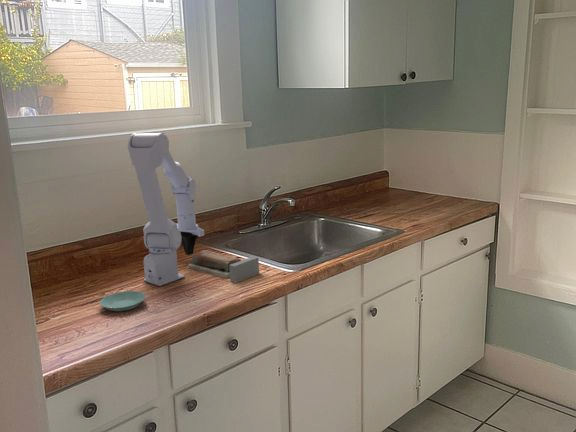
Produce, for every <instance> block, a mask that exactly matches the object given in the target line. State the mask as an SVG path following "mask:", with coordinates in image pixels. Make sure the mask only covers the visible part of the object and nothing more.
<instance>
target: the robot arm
mask: <svg viewBox="0 0 576 432" xmlns="http://www.w3.org/2000/svg"><path fill="white" fill-rule="evenodd" d="M127 150H128V153H129V157H130V160H131V161H130V162H131V165H132V166H133V167H134V168H135V174H136V176H137V180H138V185H139V188H140V192H141V196H142V200H143V202H144V207H145V210H146V214H147V217H148V222H147V223H146V224H145V225H144V227H143V229H142V231H143V244H144V245H145V248H146V249H148V252H149V253H148V254H146V255H145V256H144V258H143V270H144V279H143V281H144V282H148V283H150V284H153V285H156V286H158V287H160V286H164V285H166V284H169V283H172V282H175V281H178V280H180V279H181V280H182V279H184V278H185V277H186V276H185V275H184V274H182V273H179V267H178V256H177V250H178V249H179V248H180V247H181V245H182V247H183V250H184V253H185V255H187V256H191V255H192V254H194V250H195V245H196V242H197V239H198V237H199V238H200V237H203V236H205V229H203V228H201V227H199V224H197V222H196V209H195V208H196V207H195V200H196V191H197V183H196V180H195V179H194V178H193V177H192V176H189V175H188V173H187V172H186V171H185V169H184V167H183V166H182V165H181V164H180V162H178V161H175V160H174V158H173V155H172V154H171V152H170V141H169V139H168V137H167V134H165V132H158V133H157V132H155V133H153V132H152V133H150V132H149V133H137V132H134V133H132V134H130V136H129V139H128V144H127ZM160 166H162V167H163V174H164V176H165V177H166V179H167V180H168V181H169V186H170V191H171V193H172V194H173V195H175V206H176V218H177V223H176V222H175V221H173V220H171V219H170V218H169V217H168V215H167V210H166V208H165V202H164V199H163V194H162V191H161V187H160V183H159V179H158V175H157V174H158V173H157V171H156V169H157V168H158V167H160Z"/></svg>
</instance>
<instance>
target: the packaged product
mask: <svg viewBox="0 0 576 432" xmlns="http://www.w3.org/2000/svg"><path fill="white" fill-rule="evenodd" d="M190 256H191V257H190V258H191V260H190V261H191V263H187V268H188V269H191V270H195V271H198V272H201V273H205V274H208V275H212V276H215V277H220V278H224V279H229V278H230V267H229V265H231V264H234V263H236V262H239V261H242V260H241V258H237V257H234V256H229V255H225V254H222V253H218V252H214V251H211V250H207V249H203V250H200V251H197V252H193V254H191V255H190Z"/></svg>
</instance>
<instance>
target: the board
mask: <svg viewBox="0 0 576 432" xmlns="http://www.w3.org/2000/svg"><path fill="white" fill-rule="evenodd" d="M229 267H230V277H229V278H230V279H229V280H230V282H232V283H238V282H240V281H243V280H245V279H248V278H250V277H253V276H255V275H258V274H260V263H259V256H251V257H247V258H245V259H242V260H241V261H239V262H236V263H234V264H231V265H229Z"/></svg>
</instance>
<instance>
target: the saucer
mask: <svg viewBox="0 0 576 432" xmlns="http://www.w3.org/2000/svg"><path fill="white" fill-rule="evenodd" d="M146 297H147V296H146V294H145V293H144V292H141V291H138V290H137V291H136V290H126V291H119V292H116V293H111V294H108V295H106V296H105V297H103V298H102V299H101V300H100V301H99V305H100V306H101V307H103V308H104V309H107V310H108V311H112V312H126V310H127V311H130V310H133V309H135V308H137V307H138V306H140V305H141V303H142V302H143V301H144V300H145V299H146ZM110 307H112V308H110ZM114 307H116V308H114Z"/></svg>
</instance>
